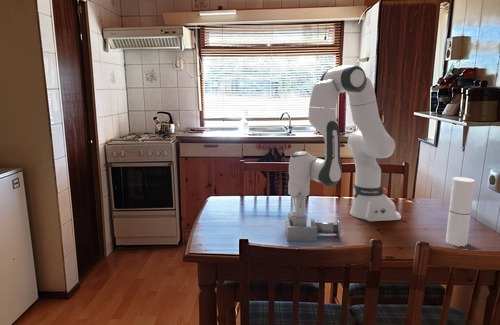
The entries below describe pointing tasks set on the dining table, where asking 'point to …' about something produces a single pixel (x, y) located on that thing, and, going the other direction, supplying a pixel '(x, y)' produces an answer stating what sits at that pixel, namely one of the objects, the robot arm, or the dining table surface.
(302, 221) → the skincare box
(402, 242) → the dining table surface
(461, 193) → the cylindrical container
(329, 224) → the grey compartment organizer
